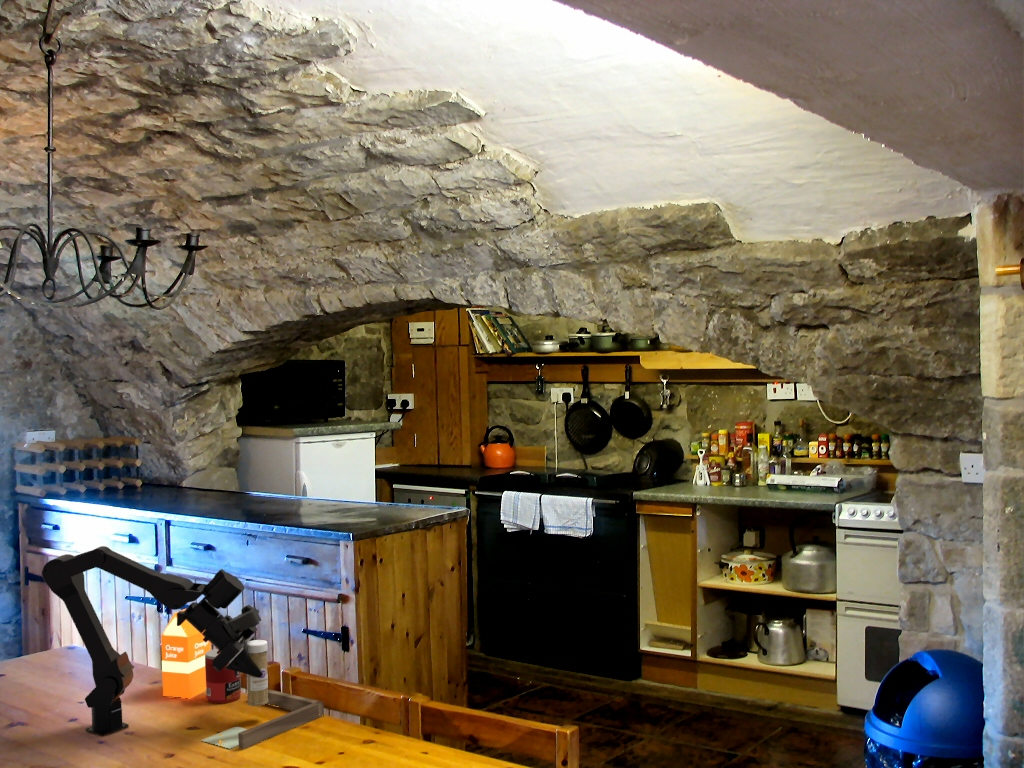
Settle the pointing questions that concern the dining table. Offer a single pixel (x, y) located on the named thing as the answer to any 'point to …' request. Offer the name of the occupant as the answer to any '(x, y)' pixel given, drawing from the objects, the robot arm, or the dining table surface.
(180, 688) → the orange juice
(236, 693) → the canned food
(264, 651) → the sprinkles bottle
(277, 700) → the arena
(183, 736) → the dining table surface
